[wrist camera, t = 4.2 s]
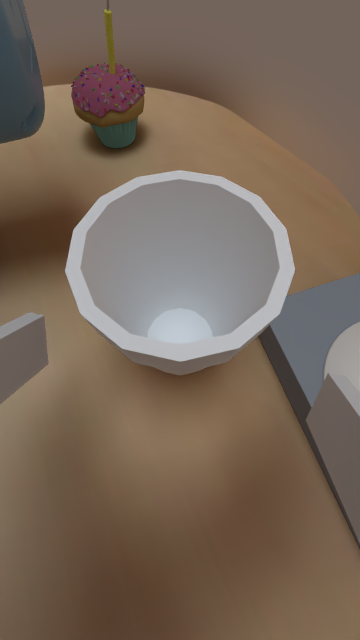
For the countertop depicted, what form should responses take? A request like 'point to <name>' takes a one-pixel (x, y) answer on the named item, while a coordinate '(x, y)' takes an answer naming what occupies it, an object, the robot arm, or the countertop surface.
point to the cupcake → (109, 97)
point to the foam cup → (180, 269)
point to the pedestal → (316, 348)
